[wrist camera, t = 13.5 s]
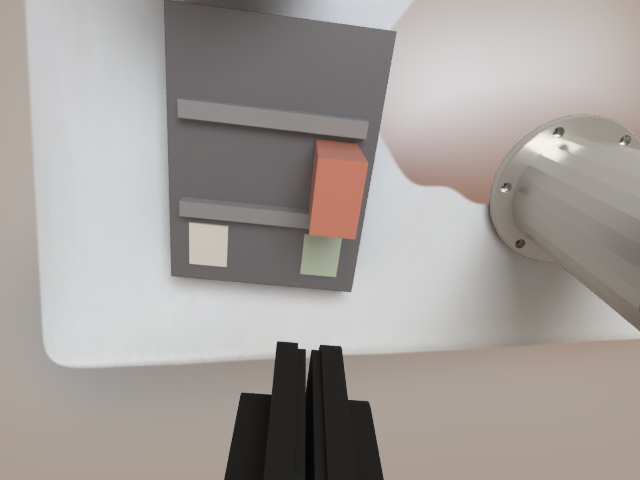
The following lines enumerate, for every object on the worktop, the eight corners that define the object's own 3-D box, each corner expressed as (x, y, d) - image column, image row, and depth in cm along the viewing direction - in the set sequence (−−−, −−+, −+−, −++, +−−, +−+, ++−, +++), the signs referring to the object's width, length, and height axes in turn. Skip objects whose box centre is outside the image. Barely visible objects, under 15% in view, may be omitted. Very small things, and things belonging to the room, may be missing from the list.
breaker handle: (357, 143, 30) (368, 163, 25) (347, 207, 32) (355, 239, 27) (316, 138, 30) (318, 157, 25) (308, 203, 32) (309, 234, 27)
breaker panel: (388, 33, 30) (399, 30, 27) (347, 274, 38) (352, 298, 35) (177, 4, 29) (158, -3, 25) (181, 259, 37) (167, 282, 33)
